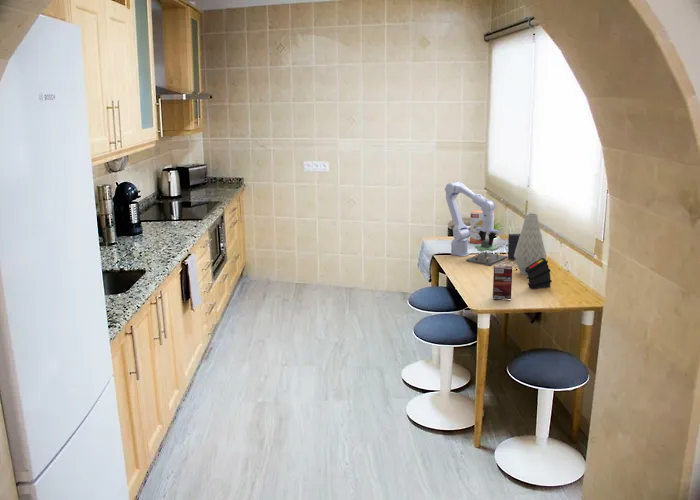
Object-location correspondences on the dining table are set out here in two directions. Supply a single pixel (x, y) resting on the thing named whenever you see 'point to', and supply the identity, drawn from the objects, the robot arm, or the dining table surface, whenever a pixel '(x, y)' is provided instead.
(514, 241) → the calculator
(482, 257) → the chassis plate
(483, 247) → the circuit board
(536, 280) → the magazine
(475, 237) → the cracker box
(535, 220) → the vase
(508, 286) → the supplement box
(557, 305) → the dining table surface
